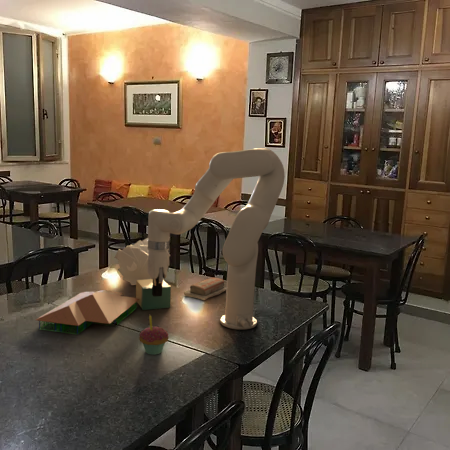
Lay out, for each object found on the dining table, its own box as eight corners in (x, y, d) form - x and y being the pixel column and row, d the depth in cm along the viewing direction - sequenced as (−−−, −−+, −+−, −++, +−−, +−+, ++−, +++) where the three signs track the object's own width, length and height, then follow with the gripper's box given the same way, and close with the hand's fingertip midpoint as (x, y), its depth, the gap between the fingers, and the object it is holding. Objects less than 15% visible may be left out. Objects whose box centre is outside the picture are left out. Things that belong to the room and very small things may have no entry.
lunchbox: (170, 307, 184) (170, 286, 183) (142, 310, 180) (143, 288, 179) (161, 298, 194) (162, 278, 193) (135, 300, 190) (135, 280, 189)
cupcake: (155, 360, 141) (156, 319, 139) (132, 352, 145) (133, 312, 143) (174, 350, 148) (175, 311, 146) (151, 342, 152) (152, 304, 150)
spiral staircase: (162, 283, 228) (140, 296, 204) (131, 263, 231) (105, 273, 207) (181, 249, 224) (160, 258, 200) (148, 229, 227) (124, 235, 203)
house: (142, 305, 185) (142, 284, 184) (103, 338, 153) (103, 313, 152) (84, 298, 190) (84, 277, 188) (35, 329, 158) (34, 304, 156)
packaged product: (209, 275, 213) (229, 279, 208) (208, 286, 214) (228, 290, 208) (183, 284, 198) (204, 289, 192) (183, 296, 198) (204, 301, 193)
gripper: (143, 240, 180) (142, 290, 184) (152, 250, 167) (151, 303, 170) (163, 240, 183) (162, 288, 186) (174, 249, 169) (172, 301, 173)
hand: (157, 295), depth 178 cm, fingers closed
